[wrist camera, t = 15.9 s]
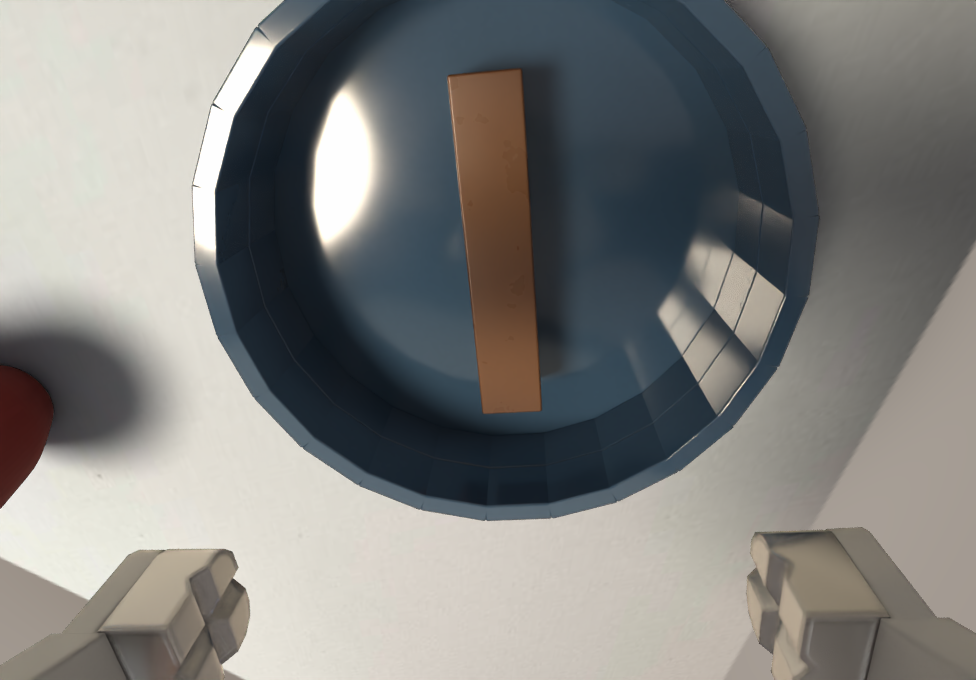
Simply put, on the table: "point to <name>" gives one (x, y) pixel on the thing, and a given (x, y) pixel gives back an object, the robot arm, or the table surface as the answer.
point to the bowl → (555, 235)
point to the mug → (21, 427)
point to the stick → (497, 235)
